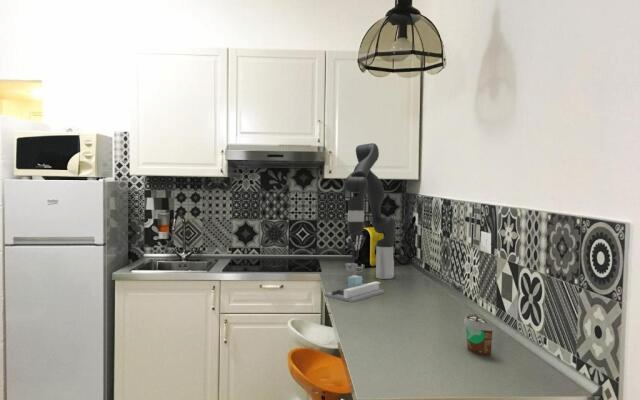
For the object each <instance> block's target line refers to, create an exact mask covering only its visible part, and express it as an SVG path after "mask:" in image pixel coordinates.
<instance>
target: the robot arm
mask: <svg viewBox="0 0 640 400" xmlns="http://www.w3.org/2000/svg"><path fill="white" fill-rule="evenodd" d="M379 151H380V150H379V146H378V145H377V143H364V144H359V145H357V146H356V148H355V155H356V159H357V162H358V163H357V164H356V165H355V167H354V168H353V171H352V172H351V173H350V174H349V175H348V176H347V177H346V179H345V181H344V189H345V190H346V192H349V193H358V195H357V196H353V197H350V198H349V199H348V200H347V201H348V207H347V209H348V212H347V231H348V237H345V239H344V240H345V243H346V244H347V247H348V249H350V250H351V257H352V259H358V258H359V255H360V253H359V252H360V250H361V249H362V248H363V245H364V243H365V240H366V239H367V237H366V236H364V235H363V231H364V230H365V211H364V210H365V209H364V207H365V206H364V205H365V197H366V195H367V198H368V202H369V207H370V213H371V219H372V220H371V221H372V225H373V230H374V231H375V232H376V233H377V234H384V237H383V238H381V239H379V240H377V241H376V243H375V244H376V245H375V246H376V249H375V250H376V251H375V252H376V256H375V258H376V259H375V260H376V261H375V263H376V264H375V265H376V266H375V268H376V269H375V273H376V274H375V277H376V278H377V279H380V280H391V279H393V278H394V277H395V260H394V245H395V239H396V237H395V236H396V220H395V218H394V217H391V216H382V212H381V207H382V205H383V201H384V199H385V189H384V185H383V182H382V181H381V179H380V178H379V177H378V176H377V175H376V174H375V173H374V172H373V171H372V170H371V169H372V167H374V165H375V164H376V163H377V161H378V160H379V154H380V152H379Z"/></svg>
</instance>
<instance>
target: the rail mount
mask: <svg viewBox="0 0 640 400" xmlns="http://www.w3.org/2000/svg"><path fill="white" fill-rule="evenodd" d="M380 284H381V282H380V281H372V282H368V283H364V282H362V285H360V286H356V287H352V288H348V286H347V287H344V288H339V289H338V288H337V289H335V290H332V291H329V292H324V297H328V298H333V299H337V300H339V301H340V300H341V301H345V302H351V303H355V302H358V301H363V300H364V299H369V298H371V297H376V296H378V295H381V294H382V295H383V294H385V290H383V289H380Z"/></svg>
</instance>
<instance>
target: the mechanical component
mask: <svg viewBox="0 0 640 400" xmlns="http://www.w3.org/2000/svg"><path fill="white" fill-rule="evenodd" d="M344 268H345V271H346V272H350V273H351V276H353V275H356V276H358V273H361V272H363V271H364V269H365V264H363V263H362V264H361V266H359V265H358V263H354V262H353V263H350V262H346V263H344Z"/></svg>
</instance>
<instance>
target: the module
mask: <svg viewBox="0 0 640 400" xmlns="http://www.w3.org/2000/svg"><path fill="white" fill-rule="evenodd" d="M362 283H363V276H361V275H349V276H347V287H348V288H352V287H356V286H360V285H362Z"/></svg>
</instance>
